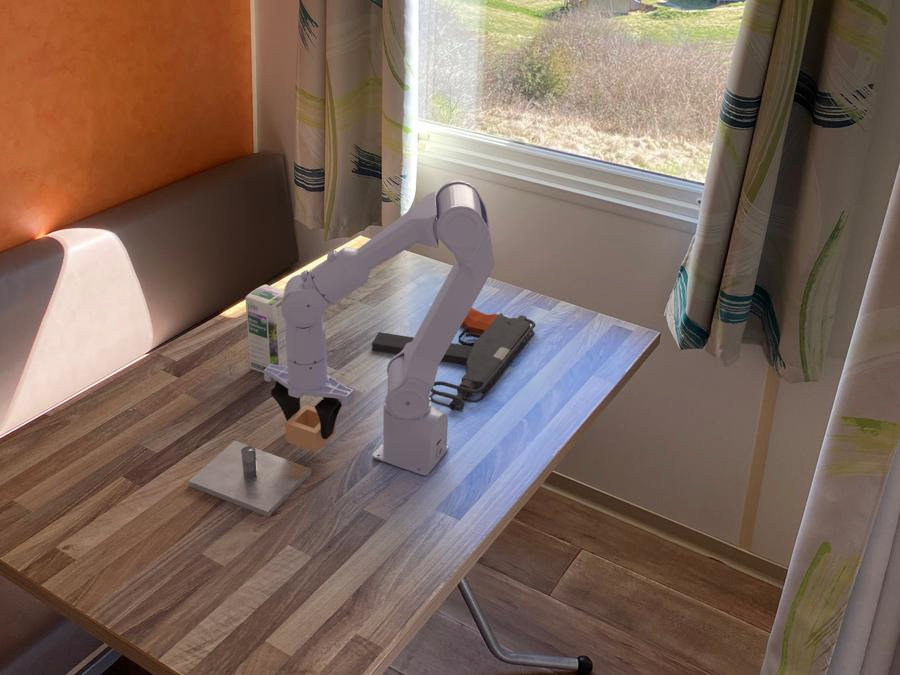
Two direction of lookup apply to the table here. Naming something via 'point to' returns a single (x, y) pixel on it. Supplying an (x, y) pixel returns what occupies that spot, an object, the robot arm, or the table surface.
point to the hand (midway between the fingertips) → (310, 429)
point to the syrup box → (266, 328)
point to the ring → (306, 429)
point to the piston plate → (250, 478)
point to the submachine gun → (474, 352)
